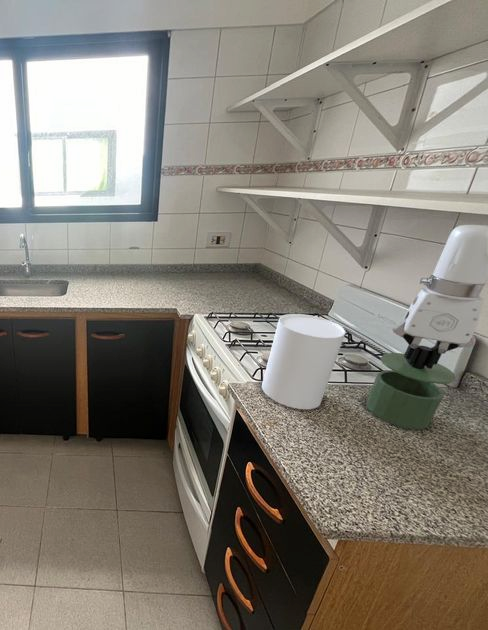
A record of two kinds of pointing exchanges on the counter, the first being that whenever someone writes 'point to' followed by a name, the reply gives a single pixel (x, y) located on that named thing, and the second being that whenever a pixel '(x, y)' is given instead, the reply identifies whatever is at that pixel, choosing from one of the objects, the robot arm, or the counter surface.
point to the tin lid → (418, 367)
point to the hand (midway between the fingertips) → (418, 363)
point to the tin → (403, 400)
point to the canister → (302, 360)
